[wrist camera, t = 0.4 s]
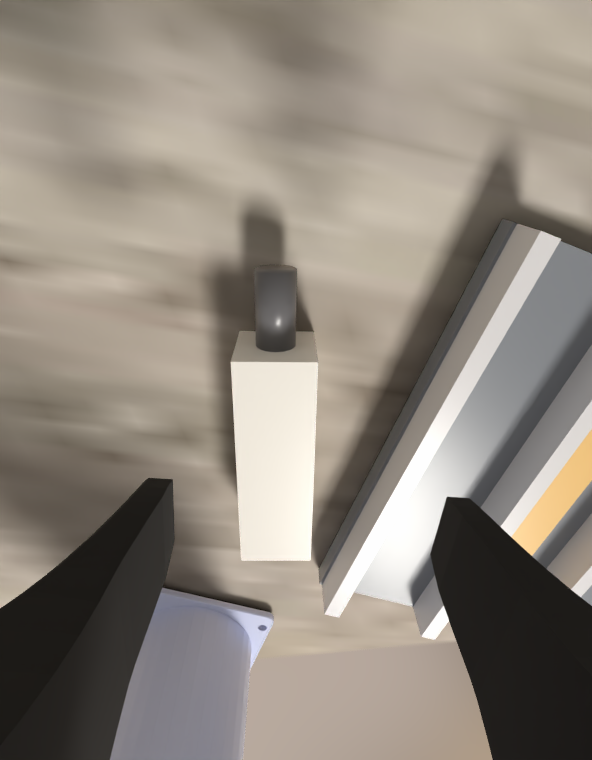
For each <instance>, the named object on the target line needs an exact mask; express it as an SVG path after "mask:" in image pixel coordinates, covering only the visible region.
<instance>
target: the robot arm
mask: <svg viewBox="0 0 592 760" xmlns="http://www.w3.org/2000/svg"><path fill="white" fill-rule="evenodd" d="M173 544H174V508H173V479H157V478H148V479H147V480H146V481H144V482H143V483H142V485H141V486H140V487H139V488H138V489H137V490H136V491H135V492H134V493H133V494H132V495H131V496H130V498H129V499H128V500H127V501H126V502H125V503H124V504H123V505H122V506H121V507H120V508H119V509H118V510H117V511H116V512H115V513H114V514H113V515H112V516H111V517H110V518H109V519H108V520H107V521H106V522H105V523H104V524H103V525H102V526H101V527H100V528H99V529H98V530H97V531H96V532H95V533H94V534H93V535H92V536H91V537H90V538H88V539H87V540H86V541H85V542H84V543H83V544H82V545H81V546H79V547H78V548H77V549H76V550H75V551H74V552H73V553H72V554H70V555H69V556H68V557H67V558H66V559H65V560H64V561H62V562H61V563H60V564H59V565H58V566H56V567H55V568H54V569H53V570H52V571H50V572H49V573H48V574H47V575H45V576H44V577H43V578H42V579H40V580H39V581H38V582H36V583H35V584H34V585H32V586H31V587H30V588H29V589H27V590H26V591H25V592H23V593H22V594H20V595H19V596H18V597H16V598H15V599H13V600H12V601H10V602H9V603H8V604H6V605H5V606H3V607H2V608H0V760H243V753H244V740H245V727H246V715H247V702H248V689H249V676H250V669H251V667H252V665H253V663H254V661H255V659H256V657H257V655H258V653H259V651H260V649H261V647H262V645H263V643H264V641H265V639H266V637H267V635H268V633H269V631H270V629H271V627H272V625H273V621H274V617H273V615H272V614H271V613H270V612H267V611H262V610H258V609H254V608H249V607H245V606H240V605H236V604H232V603H227V602H223V601H219V600H214V599H210V598H206V597H201V596H197V595H193V594H188V593H184V592H179V591H175V590H171V589H166V588H162V587H163V584H164V581H165V578H166V575H167V570H168V566H169V562H170V558H171V553H172V549H173ZM430 555H431V560H432V564H433V569H434V574H435V578H436V582H437V586H438V590H439V594H440V596H441V599H442V602H443V605H444V608H445V611H446V613H447V616H448V619H449V622H450V624H451V627H452V630H453V633H454V635H455V638H456V641H457V643H458V646H459V649H460V652H461V654H462V657H463V660H464V663H465V665H466V668H467V671H468V673H469V676H470V679H471V682H472V685H473V688H474V691H475V694H476V697H477V701H478V705H479V708H480V712H481V716H482V720H483V723H484V727H485V730H486V735H487V738H488V742H489V746H490V750H491V754H492V758H493V760H592V606H591V605H590V604H589V603H587V602H586V601H585V600H584V599H582V598H581V597H580V596H578V595H577V594H576V593H575V592H573V591H572V590H571V589H570V588H569V587H567V586H566V585H565V584H564V583H563V582H561V581H560V580H559V579H558V578H557V577H555V576H554V575H553V574H552V573H551V572H549V571H548V570H547V569H546V568H545V567H544V566H543V565H541V564H540V563H539V562H538V561H537V560H536V559H535V558H534V557H532V556H531V555H530V554H529V553H528V552H527V551H526V550H525V549H524V548H523V547H521V546H520V545H519V544H518V543H517V542H516V541H515V540H514V539H513V538H512V537H511V536H510V535H509V534H508V533H506V532H505V531H504V530H503V529H502V528H501V527H500V526H499V525H498V524H497V523H496V522H495V521H494V520H493V519H492V518H491V517H490V516H489V515H488V514H486V513H485V512H484V511H483V510H482V509H481V508H480V507H479V506H478V505H477V504H476V503H475V502H473V501H472V500H471V499H470V498H461V497H447V498H446V501H445V505H444V508H443V512H442V515H441V519H440V522H439V526H438V529H437V532H436V536H435V539H434V543H433V546H432V550H431V553H430Z"/></svg>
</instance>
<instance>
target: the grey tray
mask: <svg viewBox="0 0 592 760" xmlns="http://www.w3.org/2000/svg"><path fill="white" fill-rule="evenodd" d="M447 497H461V498H470V499H471V500H472V501H473V502H475V503H476V504H477V505H478V506H479V507H480V508H481V509H482V510H483V511H484V512H485V513H486V514H488V515H489V516H490V517H491V518H492V519H493V520H494V521H495V522H496V523H497V524H498V525H499V526H500V527H501V528H502V529H503V530H504V531H505V532H506V533H508V534H509V535H510V536H511V537H512V538H513V539H514V540H515V541H516V542H517V543H518V544H519V545H520V546H521V547H523V548H524V549H525V550H526V551H527V552H528V553H529V554H530V555H531V556H532V557H534V558H535V559H536V560H537V561H538V562H539V563H540V564H541V565H543V566H544V567H545V568H546V569H547V570H548V571H549V572H551V573H552V574H553V575H554V576H555V577H557V578H558V579H559V580H560V581H561V582H563V583H564V584H565V585H566V586H567V587H569V588H570V589H571V590H572V591H573V592H575V593H576V594H577V595H578V596H580V597H581V598H582V599H584V600H585V601H586V602H587V603H589V604H590V605H591V606H592V254H591V253H589V252H586V251H584V250H581V249H579V248H577V247H574V246H572V245H569V244H567V243H564V242H562V241H561V239H560V238H558V237H555V236H553V235H550V234H548V233H545V232H543V231H540V230H537V229H533V228H530V227H527V226H524V225H520V224H517V223H515V222H512V221H509V220H505V219H502V220H501V222H500V224H499V226H498V228H497V230H496V232H495V234H494V236H493V238H492V240H491V241H490V243H489V245H488V247H487V249H486V251H485V253H484V255H483V257H482V259H481V260H480V262H479V264H478V266H477V268H476V270H475V272H474V274H473V276H472V278H471V280H470V281H469V283H468V285H467V287H466V289H465V291H464V293H463V295H462V297H461V299H460V301H459V302H458V304H457V306H456V308H455V310H454V312H453V314H452V316H451V318H450V320H449V322H448V323H447V325H446V327H445V329H444V331H443V333H442V335H441V337H440V339H439V341H438V343H437V344H436V346H435V348H434V350H433V352H432V354H431V356H430V358H429V360H428V362H427V363H426V365H425V367H424V369H423V371H422V373H421V375H420V377H419V379H418V381H417V383H416V384H415V386H414V388H413V390H412V392H411V394H410V396H409V398H408V400H407V402H406V404H405V405H404V407H403V409H402V411H401V413H400V415H399V417H398V419H397V421H396V423H395V425H394V426H393V428H392V430H391V432H390V434H389V436H388V438H387V440H386V442H385V444H384V446H383V447H382V449H381V451H380V453H379V455H378V457H377V459H376V461H375V463H374V465H373V466H372V468H371V470H370V472H369V474H368V476H367V478H366V480H365V482H364V484H363V486H362V487H361V489H360V491H359V493H358V495H357V497H356V499H355V501H354V503H353V505H352V507H351V508H350V510H349V512H348V514H347V516H346V518H345V520H344V522H343V524H342V526H341V528H340V529H339V531H338V533H337V535H336V537H335V539H334V541H333V543H332V545H331V547H330V549H329V550H328V552H327V554H326V556H325V558H324V560H323V562H322V564H321V566H320V568H319V582H320V584H322V588H323V602H324V614H326V615H330V616H335V617H339V616H340V615H341V613H342V611H343V610H344V608H345V606H346V605H347V603H348V601H349V599H350V598H351V596H352V594H353V593H354V592H355V593H359V594H363V595H367V596H371V597H375V598H379V599H383V600H387V601H391V602H396V603H400V604H404V605H408V606H412V607H413V609H414V612H415V616H416V620H417V623H418V627H419V631H420V634H421V637H425V638H429V639H433V640H435V639H436V637H437V636H438V635H439V633H440V632H441V631H442V629H443V628H444V627H445V625H446V624H447V622H448V621H449V619H448V616H447V613H446V611H445V608H444V605H443V602H442V599H441V596H440V594H439V590H438V586H437V582H436V578H435V574H434V569H433V564H432V560H431V555H430V553H431V550H432V546H433V543H434V539H435V536H436V532H437V529H438V526H439V522H440V519H441V515H442V512H443V508H444V505H445V501H446V498H447Z"/></svg>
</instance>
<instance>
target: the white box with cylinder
mask: <svg viewBox="0 0 592 760" xmlns="http://www.w3.org/2000/svg"><path fill="white" fill-rule="evenodd" d="M296 295H297V269H296V268H295V267H292V266H287V265H263V266H258V267H255V268H254V296H255V331H239V334H238V338H237V342H236V345H235V349H234V352H233V356H232V359H231V376H232V395H233V414H234V433H235V452H236V471H237V490H238V509H239V528H240V547H241V561H311V537H312V511H313V485H314V458H315V432H316V406H317V380H318V358H317V350H316V343H315V336H314V332H306V331H296Z"/></svg>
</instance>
